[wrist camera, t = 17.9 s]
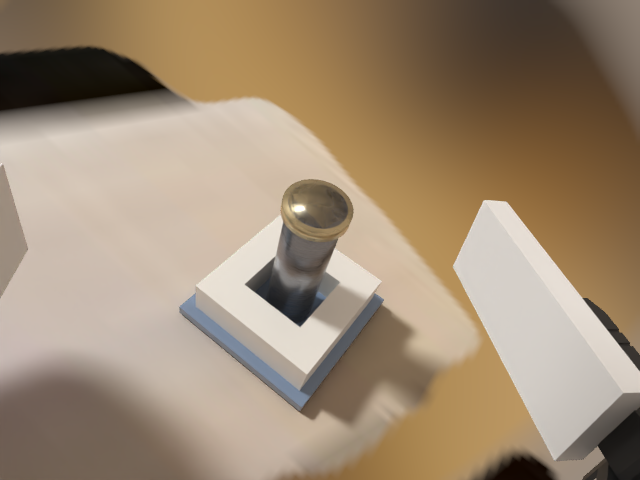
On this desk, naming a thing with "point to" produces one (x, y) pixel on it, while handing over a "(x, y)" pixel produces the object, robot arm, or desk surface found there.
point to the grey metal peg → (306, 244)
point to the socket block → (282, 316)
